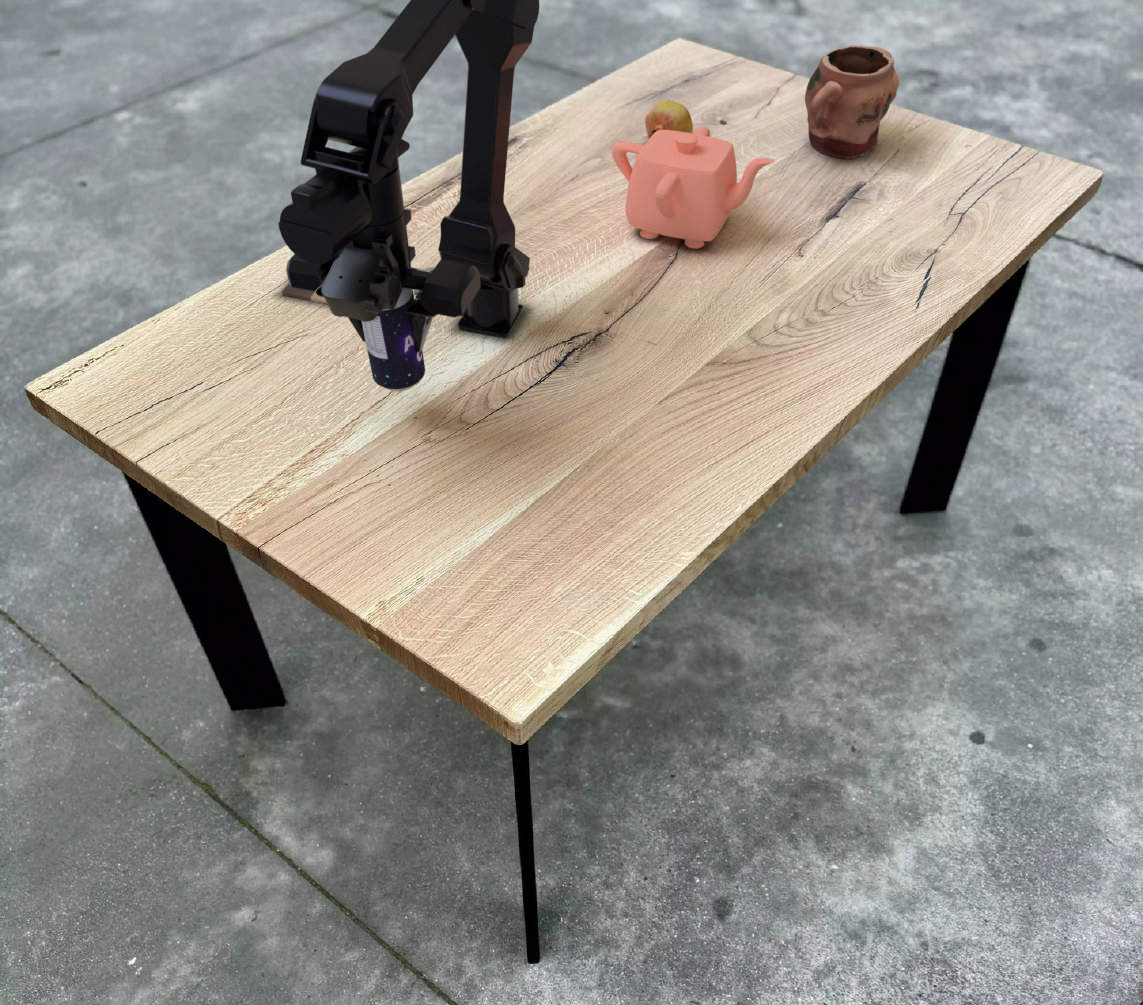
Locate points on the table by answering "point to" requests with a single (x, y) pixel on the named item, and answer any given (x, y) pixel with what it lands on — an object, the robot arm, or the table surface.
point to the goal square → (302, 294)
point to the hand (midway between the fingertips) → (392, 344)
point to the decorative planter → (849, 99)
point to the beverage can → (394, 347)
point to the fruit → (668, 118)
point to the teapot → (683, 184)
